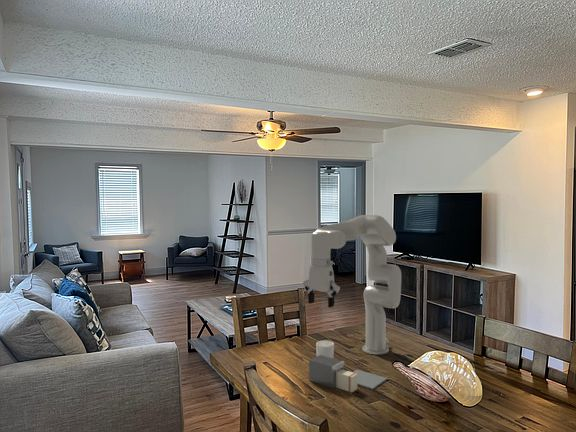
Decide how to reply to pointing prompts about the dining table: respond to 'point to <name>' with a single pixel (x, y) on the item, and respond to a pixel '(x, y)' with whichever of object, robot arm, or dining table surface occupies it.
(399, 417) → the dining table surface
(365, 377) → the mat
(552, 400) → the dining table surface
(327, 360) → the dispenser
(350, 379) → the beige block
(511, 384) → the dining table surface
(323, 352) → the white cup
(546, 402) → the dining table surface
